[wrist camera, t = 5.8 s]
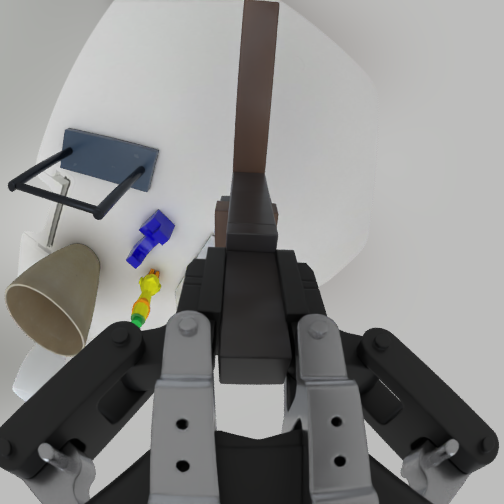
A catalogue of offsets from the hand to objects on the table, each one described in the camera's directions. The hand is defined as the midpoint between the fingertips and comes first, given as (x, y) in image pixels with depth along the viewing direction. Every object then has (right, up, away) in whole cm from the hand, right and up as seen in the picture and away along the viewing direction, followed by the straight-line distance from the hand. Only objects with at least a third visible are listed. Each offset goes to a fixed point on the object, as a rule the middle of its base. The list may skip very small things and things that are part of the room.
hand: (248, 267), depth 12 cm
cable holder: (-15, +4, +30) cm, 34 cm away
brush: (0, +7, +7) cm, 10 cm away
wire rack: (-20, +14, +22) cm, 33 cm away
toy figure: (-17, -3, +34) cm, 38 cm away
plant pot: (-30, -1, +32) cm, 44 cm away
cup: (-45, -17, +43) cm, 65 cm away
